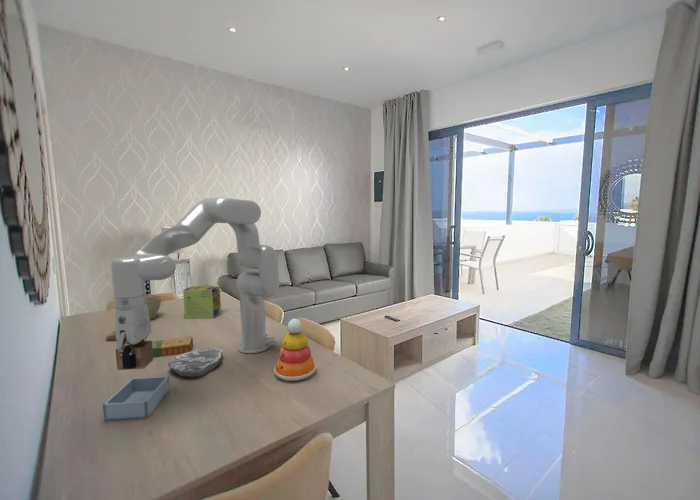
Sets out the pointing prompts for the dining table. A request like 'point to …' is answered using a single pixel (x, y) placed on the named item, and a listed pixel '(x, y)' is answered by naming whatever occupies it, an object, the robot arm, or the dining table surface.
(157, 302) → the planter bowl
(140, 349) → the walnut crate
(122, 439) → the dining table surface
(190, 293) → the protein box
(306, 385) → the dining table surface
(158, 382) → the blue tray
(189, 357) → the brain slice
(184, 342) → the carton
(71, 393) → the dining table surface
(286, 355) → the stacking toy
